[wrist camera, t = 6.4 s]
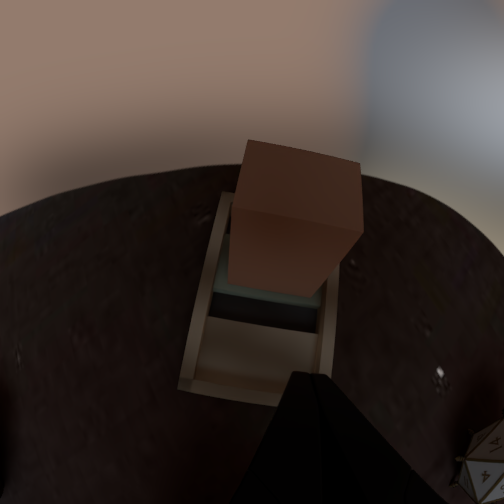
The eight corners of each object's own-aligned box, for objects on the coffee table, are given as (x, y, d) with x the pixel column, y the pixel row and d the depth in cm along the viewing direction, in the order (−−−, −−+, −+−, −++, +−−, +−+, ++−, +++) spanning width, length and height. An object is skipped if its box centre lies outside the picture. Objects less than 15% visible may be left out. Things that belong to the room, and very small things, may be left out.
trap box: (316, 409, 19) (326, 411, 17) (181, 389, 19) (177, 389, 17) (331, 228, 25) (340, 213, 23) (221, 207, 25) (222, 191, 23)
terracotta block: (310, 297, 21) (363, 232, 13) (227, 283, 21) (232, 206, 13) (314, 245, 23) (360, 163, 15) (237, 231, 23) (248, 139, 15)
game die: (429, 462, 20) (431, 467, 14) (495, 397, 20) (521, 372, 14) (477, 520, 14) (497, 546, 7) (544, 452, 14) (587, 446, 7)
